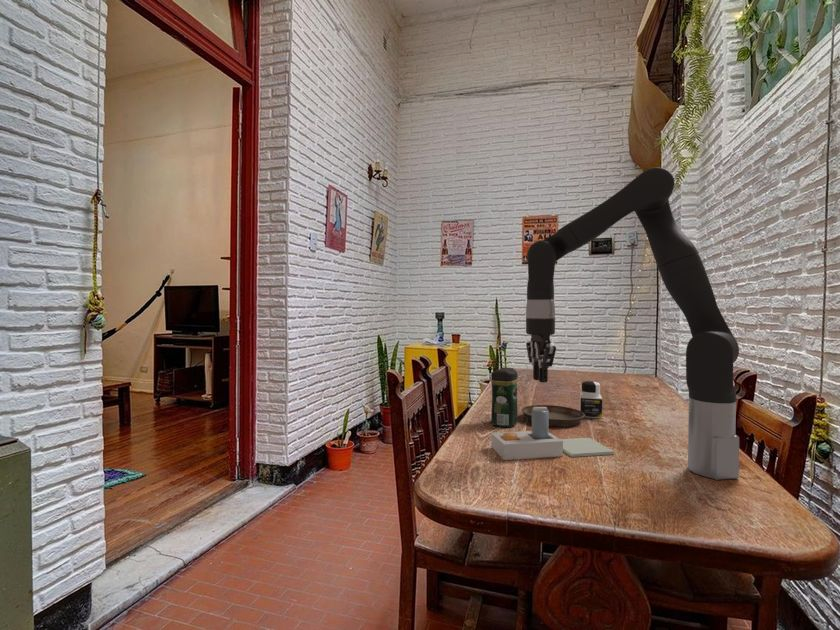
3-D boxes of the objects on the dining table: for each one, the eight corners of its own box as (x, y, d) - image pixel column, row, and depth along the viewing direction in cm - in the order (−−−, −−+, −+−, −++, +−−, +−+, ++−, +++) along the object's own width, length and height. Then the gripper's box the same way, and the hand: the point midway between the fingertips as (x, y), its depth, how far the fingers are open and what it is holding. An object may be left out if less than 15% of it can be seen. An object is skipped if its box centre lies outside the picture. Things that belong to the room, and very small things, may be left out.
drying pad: (614, 454, 115) (614, 451, 115) (571, 457, 113) (571, 454, 113) (589, 440, 127) (589, 437, 127) (550, 442, 125) (550, 439, 125)
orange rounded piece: (513, 443, 119) (513, 432, 119) (519, 447, 115) (519, 436, 115) (501, 444, 118) (501, 432, 118) (506, 448, 115) (506, 436, 115)
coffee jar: (497, 419, 151) (497, 365, 151) (520, 422, 147) (520, 367, 147) (487, 426, 142) (487, 369, 142) (511, 429, 139) (511, 370, 138)
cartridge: (551, 453, 116) (551, 409, 116) (535, 454, 116) (535, 409, 115) (543, 447, 121) (544, 405, 120) (528, 448, 120) (529, 405, 120)
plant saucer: (561, 411, 162) (561, 402, 162) (597, 426, 143) (598, 416, 142) (511, 415, 157) (511, 406, 157) (541, 431, 137) (541, 420, 137)
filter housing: (545, 444, 124) (545, 430, 124) (562, 456, 114) (562, 441, 114) (491, 447, 121) (491, 433, 121) (504, 460, 111) (504, 444, 111)
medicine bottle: (580, 417, 153) (580, 383, 153) (579, 412, 160) (579, 379, 160) (602, 418, 151) (602, 384, 151) (600, 413, 158) (600, 380, 158)
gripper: (566, 317, 111) (566, 385, 111) (541, 316, 125) (541, 376, 125) (538, 317, 110) (538, 386, 110) (516, 316, 124) (516, 377, 124)
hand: (540, 380), depth 118 cm, fingers open, 3 cm apart
